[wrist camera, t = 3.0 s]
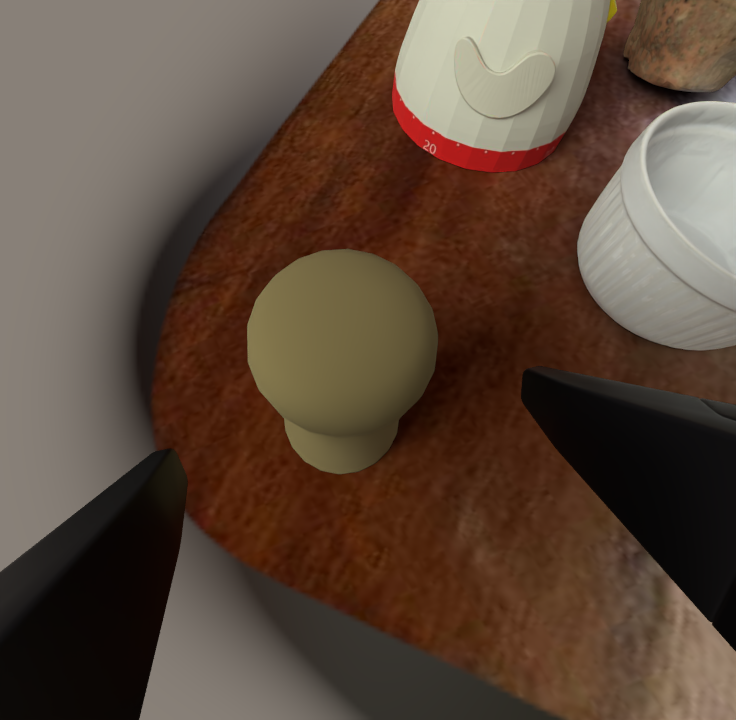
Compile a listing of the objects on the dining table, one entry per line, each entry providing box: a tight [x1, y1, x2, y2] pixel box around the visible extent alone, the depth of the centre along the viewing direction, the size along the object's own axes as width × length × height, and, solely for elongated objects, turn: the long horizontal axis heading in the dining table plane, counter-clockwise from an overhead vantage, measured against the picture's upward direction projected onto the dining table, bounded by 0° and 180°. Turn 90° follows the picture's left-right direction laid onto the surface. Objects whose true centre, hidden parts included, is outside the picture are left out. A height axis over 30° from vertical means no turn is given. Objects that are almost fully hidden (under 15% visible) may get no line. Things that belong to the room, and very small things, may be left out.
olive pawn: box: [247, 249, 438, 474], centre depth 13 cm, size 6×6×11 cm
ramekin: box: [577, 101, 736, 351], centre depth 20 cm, size 13×13×7 cm
